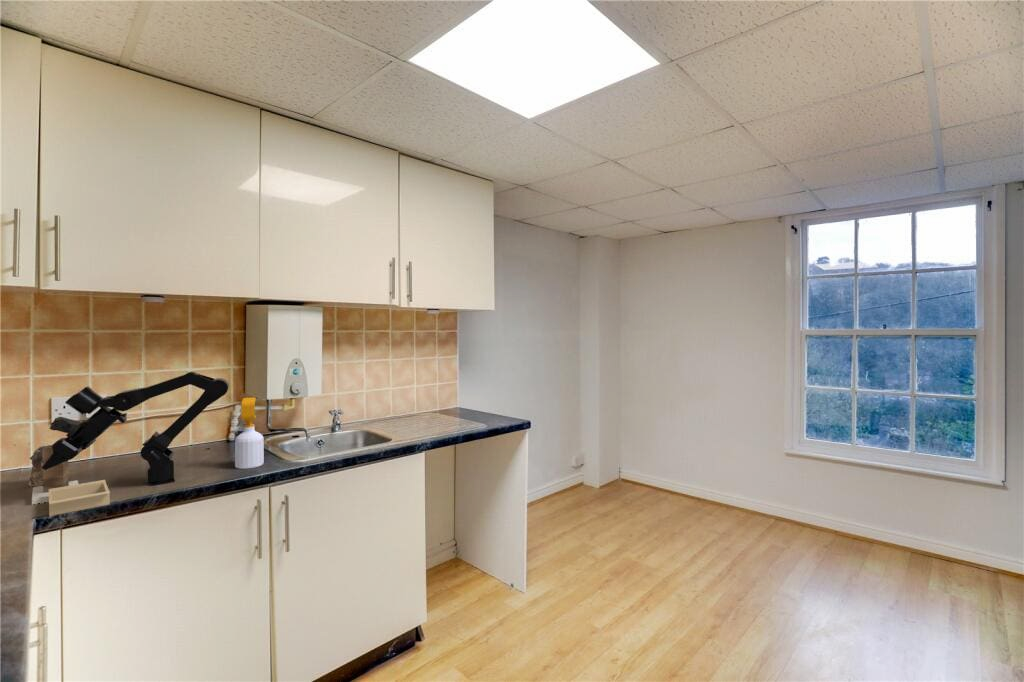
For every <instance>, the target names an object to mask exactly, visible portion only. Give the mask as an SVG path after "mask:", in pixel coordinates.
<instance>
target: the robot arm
mask: <svg viewBox="0 0 1024 682" xmlns="http://www.w3.org/2000/svg"><path fill="white" fill-rule="evenodd" d="M189 385H191V386H193V387H195V388H198V389H201V390H203V392H202V394H201V395H200V397H198V399H197V400H196V401H194V403H192V405H190V406H189V407H188V408H187V409H186V410H185V411H183V413H182V414H181V415H180V416H179V417H178V418H177V419H175V421H174V422H172V424H171V425H170V426H168V427H167V428H166V429H165V430H163V431H162V432H160V433H159V432H158V430H157V431H155V432H154V433H153V434H152V436H151V437H150V438H148V439H146V440H145V441H144V442H143V443H142V444H141V446H143V447H142V448H140V457H141V458H142V459H143V460H144V461H147V463H148V467H147V468H146V469H145V471H146V474H145V475H146V482H147V484H149V486H155V485H156V484H157V485H161V484H167V482H168V483H172V481H173V482H176V479H175V461H174V460H173V456H174V453H175V452H174V451H172V450H171V449H170V448H169V446H170V445H171V443H172V442H173V441H174V439H175V438H176V437H177V436H178V435H179V434H180V433H182V431H183V430H184V429H186V428H187V427H188V426H189V425H190V423H192V422H193V421H194V420H195V419H196V418H197V417H198V416H199V415H201V413H202V412H203V411H204V410H205V409H206V408H208V407H209V406H210V405H211V404H212V405H213V403H215V402H216V401H218V400H219V399H220V398H222V397H223V396H225V395H226V394H227V393H228V390H229V387H230V385H229V382H228V381H227V380H226V379H224V378H222V377H221V378H220V377H219V378H218V377H217V378H215V377H214V378H213V377H210V376H208V375H204V374H201V373H197V372H195V371H188V372H186V373H184V374H182V375H179V376H176V377H173V378H170V379H167V380H164V381H160V382H158V383H156V384H152V385H150V386H145V387H140V388H133V389H127V390H124V391H121V392H119V393H116V394H115V395H111V396H110V395H109V396H106V397H103V396H101V395H100V394H99V393H97V392H96V391H94V389H92V388H91V387H90V386H86V387H83V388H82V389H81V390H80V391H78V392H76V393H75V394H73V395H71V396H70V397H69V398H68V399H66V401H65V402H64V403H65V404H66V405H68V406H69V407H71V408H72V409H73V410H75V411H76V412H78V413H79V414H81V415H87V414H88V415H91V414H92V413H93V412H94V413H93V414H92V415H91V416H90V417H89V418H88V417H87V419H85V420H83V421H82V422H80V421H77V420H75V419H74V420H73V419H70V418H67V417H63V416H58V417H55V418H54V420H53V422H51V423H50V427H49V430H51V431H58V432H62V433H66V435H65V437H61V438H60V439H58V440H57V441H55V442H54V443H53V444H51V445H52V449H53V454H52V455H51V456H50V458H49V459H48V460H47V462H46V463H45V464H44V465H43V467H42V469H44V470H47V469H49V468H51V467H54V466H56V465H58V464H61V463H63V462H66V461H68V462H69V461H70V460H73V459H74V458H75V457H77V456H78V455H79V454H80V453H82V452H83V451H84V450H86V449H87V448H90V447H91V446H92V445H93V444H95V443H96V441H97V438H98V437H100V436H101V435H103V433H104V432H106V431H107V430H108V429H109V428H110V427H111V426H112V425H114V424H115V423H116V422H117V421H119V422H120V423H121V424H125V422H127V420H128V418H127V416H128V413H127V412H126V411H129V410H132V408H134V407H137V406H139V405H140V404H142V403H144V402H146V401H148V400H150V399H152V398H154V397H159V396H160V395H163V394H167V393H169V392H172V391H175V390H177V389H181V388H184V387H187V386H189ZM98 408H99V409H98ZM97 409H98V410H97ZM96 410H97V411H96ZM122 412H123V413H122Z"/></svg>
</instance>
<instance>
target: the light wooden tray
mask: <svg viewBox="0 0 1024 682" xmlns="http://www.w3.org/2000/svg"><path fill="white" fill-rule="evenodd" d="M110 494H111V491H110V490H109V487H108V485H107V482H106V479H102V480H95V481H89V482H83V483H79V484H76V485H70V486H64V487H58V488H52V489H49V502H48V509H49V511H48V512H49V513H48V514H49V515H48V516H49V517H51V516H52V517H53V516H56V515H63V514H67V513H72V512H76V511H82V510H83V511H84V510H88V509H94V508H97V507H103V506H108V505H110V504H111V503H110V497H111V496H110Z"/></svg>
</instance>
